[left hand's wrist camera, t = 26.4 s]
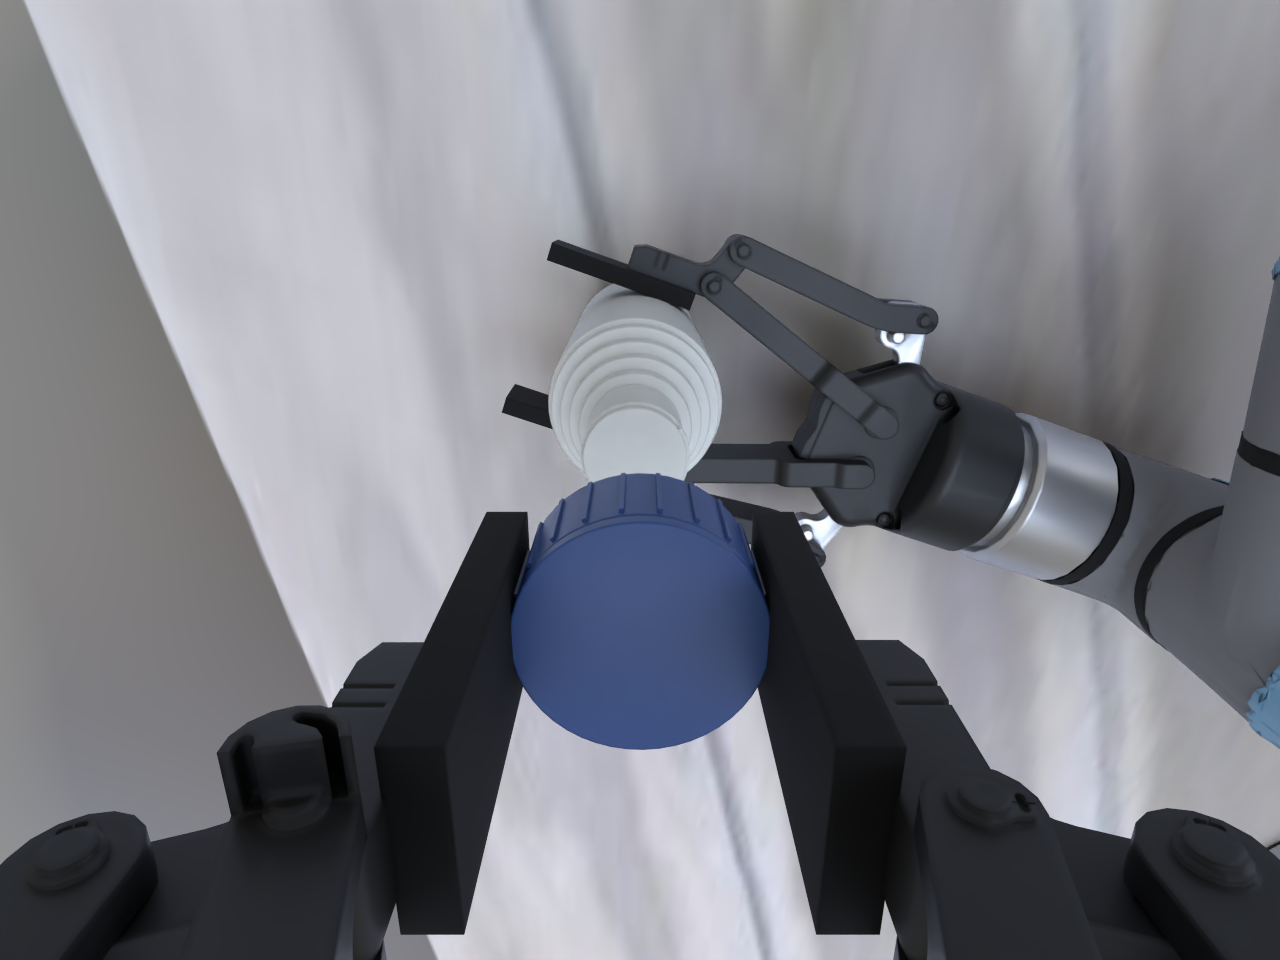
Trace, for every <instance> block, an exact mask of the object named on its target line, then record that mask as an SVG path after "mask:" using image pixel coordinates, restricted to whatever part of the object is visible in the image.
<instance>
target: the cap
mask: <svg viewBox="0 0 1280 960" xmlns="http://www.w3.org/2000/svg"><path fill="white" fill-rule="evenodd" d="M514 598H516V600H515V604H514V607H513V611H512V614H511V633H512V648H513V662H514V667H515V670H516V673H517V675H518V677H519V679H520V681H521V683H522V685H523V687H524V689H525V690H526V692H527V693H528V695H529V696H530V697H531V699H532V700H533V701H534V703H535V704H536V705H537V706H538V707H539V708H540V709H541V710H542V711H543V712H544V713H545V714H546V715H547V716H548V717H549V718H551V719H552V720H553V721H554V722H556V723H557V724H559V725H560V726H562V727H563V728H565V729H566V730H568V731H570V732H572V733H574V734H575V735H577V736H579V737H581V738H584V739H587V740H589V741H592V742H595V743H598V744H602V745H606V746H610V747H616V748H623V749H637V750H646V749H660V748H665V747H671V746H676V745H679V744H683V743H686V742H689V741H692V740H694V739H697V738H699V737H702V736H704V735H706V734H708V733H710V732H711V731H713V730H715V729H717V728H718V727H720V726H721V725H723V724H724V723H725V722H727V721H728V720H729V719H731V718H732V717H733V716H734V715H735V714H736V713H737V712H738V711H739V710H740V709H742V708H743V706H744V705H745V704H746V703H747V701H748V700H749V699H750V698H751V697H752V695H753V694H754V692H755V690H756V689H757V687H758V685H759V684H760V682H761V680H762V677H763V675H764V673H765V671H766V667H767V655H768V639H769V624H770V613H769V609H768V605H767V602H766V592H765V588H764V585H763V582H762V579H761V576H760V573H759V569H758V566H757V563H756V560H755V557H754V553H753V551H751V550H750V547H749V544H748V541H747V538H746V534H745V531H744V528H743V525H742V523H741V522H740V523H737V521H736V520H735V518H734V517H733V516H732V514H731V513H730V512H729V511H728V510H727V509H726V508H725V507H724V506H723V504H722V501H721V500H720V499H718V500H716V499H715V498H714V497H713V496H711V495H710V494H708V493H707V492H705V491H703V490H702V489H700V488H698V487H697V486H694V483H692V482H689V483H688V482H685V481H683V480H679V479H676V478H673V477H669V476H664V475H661V474H660V473H656V474H646V473H634V474H626V473H621V475H617V476H613V477H608V478H605V479H602V480H599V481H596V482H592V481H591V482H589V483H588V485H587V486H585V487H583V488H581V489H579V490H577V491H576V492H574V493H573V494H571V495H570V496H568V497H567V498H566V499H565V500H564V499H563V498H562V499H561V500H560V501H559V505H558V506H557V507H556V508H555V509H554V510H553V511H552V512H551V513H550V515H549V516H548V517H547V518H546V520H545V521H544V523H542V522H540V524H539V525H538V528H537V532H536V535H535V538H534V542H533V545H532V548H531V551H530V550H528V551H527V554H526V557H525V561H524V564H523V567H522V570H521V573H520V576H519V580H518V583H517V586H516V589H515V592H514Z"/></svg>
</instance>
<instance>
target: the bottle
mask: <svg viewBox="0 0 1280 960" xmlns="http://www.w3.org/2000/svg"><path fill="white" fill-rule="evenodd" d="M548 406H549V416H550V421H551V425H552V428H553V431H554V434H555V436H556V438H557V440H558V442H559V444H560V445H561V447H562V449H563V450H564V452H565V453H566V455H567V456H568V458H569V459H570V460H571V461H572V462H573V463H574V464H575V465H576V466H577V467H578V468H579V469H580V470H581V471H582V472H583V474H584V475H585V477H586V479H587V481H588V483H589V482H591V481H592V482H596V481H599V480H602V479H605V478H608V477H613V476H617V475H621V473H626V474H634V473H646V474H656V473H660V474H661V475H664V476H669V477H673V478H676V479H679V480H683V481H684V479H685V477H686V474H687V472H688V471H689V470H691V469H692V468H693V467H694V466H695V465H696V464H697V463H698V462H699V461H700V459H701V458H702V457H703V456H704V454H705V453H706V451H707V450H708V448H709V446H710V445H711V443H712V441H713V439H714V437H715V435H716V433H717V430H718V426H719V423H720V419H721V413H722V392H721V386H720V382H719V378H718V375H717V372H716V370H715V367H714V365H713V363H712V361H711V359H710V357H709V355H708V352H707V350H706V348H705V346H704V344H703V342H702V340H701V337H700V335H699V333H698V331H697V329H696V327H695V325H694V323H693V320H692V318H691V316H690V314H689V312H688V310H686V309H684V308H681V307H678V306H675V305H672V304H670V303H667V302H664V301H661V300H659V299H655V298H653V297H650V296H647V295H644V294H641V293H639V292H636V291H633V290H630V289H627V288H624V287H622V286H619V285H616V284H611V285H609V286H607V287H605V288H604V289H602V290H601V291H600V292H598V293H597V294H596V295H595V296H594V297H593V298H592V299H591V300H590V302H589V303H588V304H587V306H586V307H585V309H584V311H583V313H582V315H581V317H580V319H579V321H578V323H577V325H576V327H575V329H574V331H573V333H572V335H571V337H570V339H569V342H568V344H567V346H566V348H565V350H564V352H563V354H562V356H561V358H560V360H559V362H558V364H557V366H556V368H555V371H554V374H553V376H552V379H551V384H550V388H549V397H548Z"/></svg>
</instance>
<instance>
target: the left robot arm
mask: <svg viewBox="0 0 1280 960" xmlns="http://www.w3.org/2000/svg"><path fill="white" fill-rule="evenodd" d="M528 550H529V533H528V514H527V512H486V515H485V517H484V519H483V521H482V523H481V525H480V527H479V529H478V531H477V533H476V535H475V537H474V540H473V542H472V544H471V546H470V548H469V550H468V552H467V554H466V556H465V558H464V560H463V562H462V565H461V567H460V569H459V571H458V573H457V575H456V577H455V579H454V581H453V583H452V585H451V587H450V590H449V592H448V594H447V596H446V598H445V600H444V602H443V604H442V606H441V608H440V610H439V612H438V614H437V617H436V619H435V621H434V623H433V625H432V627H431V629H430V631H429V633H428V635H427V637H426V639H425V642H382V643H381V644H380V645H378V646H377V647H376V648H374V649H373V650H372V651H370V652H369V653H368V654H366V655H365V656H364V657H363V658H361V659H360V660H359V661H357V663H356V664H355V666H354V668H353V669H352V671H351V673H350V674H349V676H348V678H347V679H346V681H345V683H344V687H343V689H340V691H339V692H338V694H337V696H336V697H335V699H334V701H333V702H332V707H329V708H327V707H324V706H294V707H290V708H285V709H281V710H277V711H272V712H270V713H268V714H265V715H263V716H261V717H259V718H256V719H254V720H252V721H250V722H248V723H246V724H245V725H244V726H242V727H241V728H240V729H238V730H237V731H236V732H234V733H233V734H231V735H230V736H229V737H228V738H227V740H226V741H225V742H224V744H223V745H222V746H221V748H220V749H219V751H218V752H217V756H218V760H219V765H220V769H221V773H222V778H223V782H224V786H225V791H226V795H227V799H228V804H229V808H230V812H231V818H230V821H229V822H227V823H224V824H221V825H217V826H214V827H211V828H207V829H204V830H200V831H196V832H191V833H187V834H183V835H178V836H174V837H170V838H166V839H162V840H157V841H153V842H150V839H149V836H148V832H147V829H146V826H145V825H144V824H143V823H142V822H141V821H140V820H139V819H138V818H137V817H136V816H135V815H130V814H125V813H120V812H115V811H113V812H104V813H96V814H88V815H85V816H82V817H79V818H76V819H73V820H70V821H67V822H64V823H61V824H58V825H56V826H54V827H53V828H51V829H49V830H47V831H45V832H43V833H41V834H40V835H38V836H36V837H34V838H32V839H30V840H29V841H28V842H27V843H25V844H24V845H23V846H22V847H20V848H19V849H18V850H17V851H16V852H14V853H13V854H12V855H11V856H9V857H8V858H7V859H6V860H5V861H4V862H3V863H2V864H1V865H0V960H386V953H385V947H384V940H383V938H384V936H385V933H386V930H387V927H388V924H389V921H390V918H391V915H392V912H393V909H394V906H395V904H396V905H397V912H398V919H399V926H400V933H401V935H464V933H465V929H466V925H467V921H468V916H469V912H470V908H471V904H472V899H473V895H474V891H475V887H476V883H477V878H478V874H479V870H480V866H481V861H482V857H483V853H484V849H485V845H486V840H487V836H488V832H489V828H490V823H491V819H492V815H493V811H494V807H495V802H496V798H497V794H498V790H499V785H500V781H501V777H502V773H503V769H504V764H505V760H506V756H507V752H508V747H509V743H510V739H511V735H512V731H513V726H514V722H515V718H516V714H517V709H518V705H519V701H520V697H521V693H522V688H523V685H522V683H521V681H520V679H519V677H518V675H517V673H516V670H515V667H514V662H513V648H512V633H511V614H512V611H513V607H514V604H515V600H516V598H514V592H515V589H516V586H517V583H518V580H519V576H520V573H521V570H522V567H523V564H524V561H525V557H526V554H527V551H528ZM751 551H753V553H754V557H755V560H756V563H757V566H758V569H759V573H760V576H761V579H762V582H763V585H764V588H765V592H766V602H767V605H768V609H769V613H770V624H769V639H768V655H767V667H766V671H765V673H764V675H763V677H762V680H761V682H760V684H759V685H758V691H759V695H760V699H761V703H762V708H763V712H764V716H765V720H766V724H767V729H768V733H769V737H770V741H771V745H772V750H773V754H774V758H775V762H776V767H777V771H778V775H779V779H780V783H781V788H782V792H783V796H784V800H785V805H786V809H787V813H788V817H789V821H790V826H791V830H792V834H793V838H794V843H795V847H796V851H797V855H798V859H799V864H800V868H801V872H802V876H803V881H804V885H805V889H806V893H807V897H808V902H809V906H810V910H811V914H812V918H813V923H814V927H815V931H816V935H880V929H881V923H882V916H883V909H884V902H885V901H886V904H887V907H888V910H889V913H890V916H891V919H892V921H893V924H894V927H895V930H896V933H897V940H896V946H895V953H894V959H893V960H1280V860H1279V859H1278V858H1277V857H1276V856H1275V855H1274V854H1273V853H1272V852H1270V851H1269V850H1268V849H1267V848H1265V847H1264V846H1263V845H1262V844H1260V843H1259V842H1258V841H1257V840H1255V839H1254V838H1253V837H1252V836H1250V835H1248V834H1246V833H1244V832H1243V831H1241V830H1239V829H1237V828H1235V827H1233V826H1231V825H1230V824H1228V823H1226V822H1224V821H1222V820H1219V819H1216V818H1213V817H1210V816H1207V815H1204V814H1201V813H1197V812H1194V811H1188V810H1179V809H1170V808H1165V809H1160V810H1155V811H1150V812H1147V813H1146V814H1145V815H1143V816H1142V817H1141V818H1140V819H1139V820H1138V821H1137V822H1136V824H1135V827H1134V831H1133V834H1132V838H1131V839H1129V838H1124V837H1120V836H1116V835H1111V834H1107V833H1103V832H1099V831H1094V830H1090V829H1086V828H1082V827H1077V826H1074V825H1070V824H1067V823H1064V822H1061V821H1057V820H1054V819H1052V818H1050V817H1049V814H1048V813H1047V811H1046V810H1045V808H1044V807H1043V805H1042V803H1041V802H1040V800H1039V799H1038V797H1037V796H1035V795H1034V794H1033V793H1032V792H1031V791H1029V790H1028V789H1027V788H1026V787H1025V786H1023V785H1022V784H1021V783H1020V782H1018V781H1016V780H1014V779H1012V778H1010V777H1008V776H1006V775H1004V774H1002V773H1000V772H998V771H996V770H992V769H990V767H989V766H988V764H987V762H986V761H985V759H984V757H983V756H982V754H981V753H980V751H979V749H978V748H977V746H976V744H975V743H974V741H973V739H972V738H971V736H970V734H969V733H968V731H967V730H966V728H965V726H964V725H963V723H962V721H961V720H960V718H959V716H958V715H957V713H956V711H955V710H954V708H953V706H952V705H949V700H948V698H947V697H946V695H945V693H944V692H943V690H942V688H941V687H940V686H938V685H937V680H936V679H935V677H934V675H933V674H932V672H931V670H930V669H929V667H928V665H927V664H926V662H925V660H924V659H923V658H921V657H920V656H919V655H918V654H916V653H915V652H914V651H912V650H911V649H910V648H908V647H907V646H906V645H904V644H903V643H902V642H900V641H899V640H855V638H854V636H853V634H852V632H851V630H850V628H849V626H848V624H847V622H846V620H845V618H844V616H843V613H842V611H841V609H840V607H839V605H838V603H837V601H836V599H835V597H834V595H833V593H832V591H831V588H830V586H829V584H828V582H827V580H826V578H825V576H824V574H823V572H822V570H821V568H820V566H819V563H818V561H817V559H816V557H815V555H814V553H813V551H812V549H811V547H810V545H809V543H808V541H807V539H806V536H805V534H804V532H803V530H802V528H801V526H800V524H799V522H798V520H797V518H796V516H795V514H794V512H753V523H752V542H751Z"/></svg>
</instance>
